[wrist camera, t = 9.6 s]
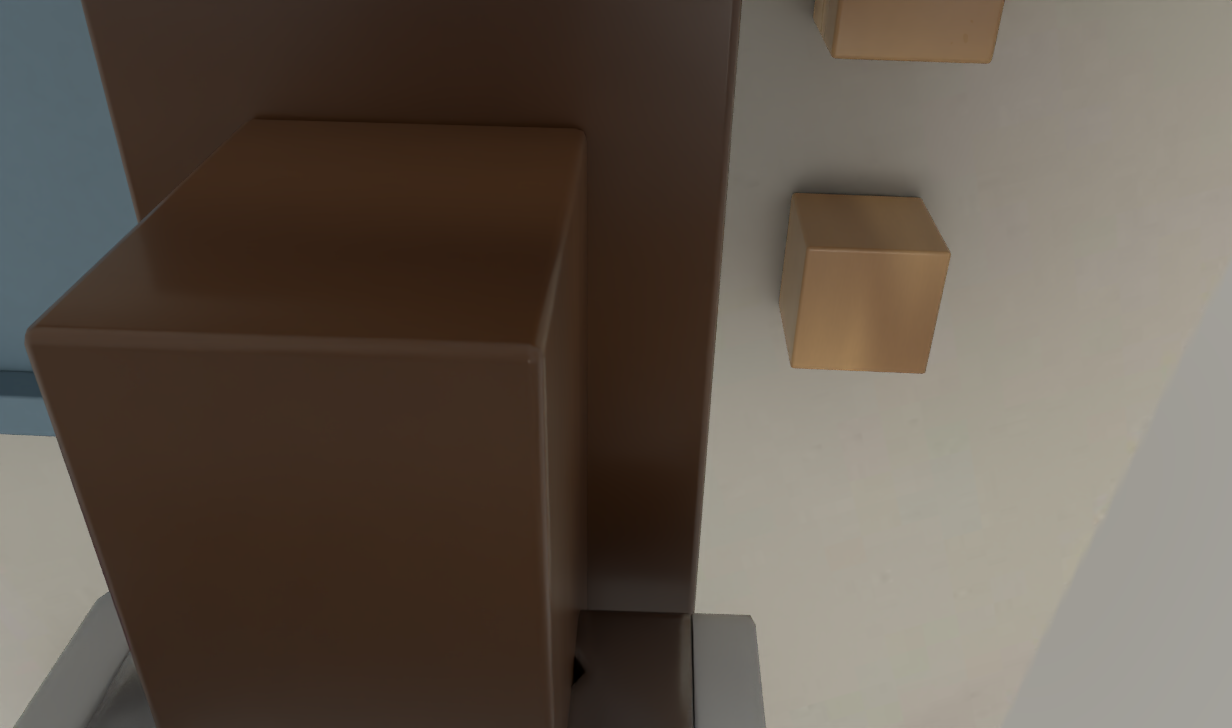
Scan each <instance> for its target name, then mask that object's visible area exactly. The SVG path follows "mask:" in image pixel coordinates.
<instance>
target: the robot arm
mask: <svg viewBox="0 0 1232 728" xmlns="http://www.w3.org/2000/svg"><path fill="white" fill-rule="evenodd" d="M13 728H156V725H155V722H154V719H153V716H152V713H151V710H150V708H149V705H148V702H147V699H146V696H145V693H144V690H143V687H142V684H141V681H140V679H139V676H138V673H137V670H136V667H135V664H134V661H133V658H132V655H131V652H130V650H129V647H128V644H127V641H126V638H125V635H124V632H123V629H122V626H121V624H120V621H119V618H118V615H117V612H116V609H115V606H114V603H113V600H112V597H111V595H110V592H108V593H106V594H105V595H103V596H102V597H100V598H99V599H98V600H97V601H96V602H95V603H94V605H93V606H92V608H91V609H90V611H89V612H88V614H87V616H86V617H85V619H84V620H83V622H82V623H81V625H80V626H79V628H78V629H77V631H76V632H75V634H74V635H73V637H72V638H71V640H70V642H69V643H68V645H67V646H66V648H65V649H64V651H63V652H62V654H61V655H60V657H59V658H58V660H57V661H56V663H55V664H54V666H53V667H52V669H51V671H50V672H49V674H48V675H47V677H46V678H45V680H44V681H43V683H42V684H41V686H40V687H39V689H38V690H37V692H36V693H35V695H34V697H33V698H32V700H31V701H30V703H29V704H28V706H27V707H26V709H25V710H24V712H23V713H22V715H21V716H20V718H19V719H18V721H17V722H16V724H15V726H14V727H13ZM567 728H766V726H765V716H764V706H763V696H762V686H761V676H760V666H759V656H758V646H757V636H756V626H755V623H754V621H753V620H752V618H751V616H750V615H731V614H702V613H692V615H691V617H690V614H689V613H677V612H645V611H613V610H582V609H581V610H580V614H579V617H578V626H577V636H576V646H575V684H574V685H573V686H572V687H571V696H570V706H569V716H568V726H567Z"/></svg>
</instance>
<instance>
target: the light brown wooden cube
mask: <svg viewBox="0 0 1232 728" xmlns="http://www.w3.org/2000/svg"><path fill="white" fill-rule="evenodd" d="M1004 2H1005V0H815V6H814V14H813V19H814V22H815V24H816V26H817V28H818V30H819V32H820V34H821V36H822V38H823V40H824V42H825V44H826V46H827V48H828V50H829V52H830V54H831V56H832V57H833V58H835V59H864V60H892V61H921V62H949V63H977V64H987V63H990V62H991V60H992V57H993V53H994V48H995V44H996V39H997V34H998V30H999V25H1000V20H1001V16H1002V11H1003V7H1004Z"/></svg>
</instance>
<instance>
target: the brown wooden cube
mask: <svg viewBox="0 0 1232 728" xmlns="http://www.w3.org/2000/svg"><path fill="white" fill-rule="evenodd" d="M950 256H951V253H950V251H949V249H948V247H947V245H946V243H945V241H944V240H943V238H942V236H941V234H940V232H939V230H938V228H937V227H936V225H935V223H934V221H933V219H932V217H931V215H930V214H929V212H928V210H927V208H926V206H925V204H924V202H923V201H922V199H921V198H917V197H891V196H864V195H838V194H812V193H793V195H792V199H791V207H790V215H789V224H788V232H787V240H786V248H785V256H784V265H783V273H782V281H781V289H780V297H779V308H780V313H781V318H782V323H783V329H784V334H785V339H786V344H787V349H788V355H789V360H790V365H791V367H792V368H803V369H827V370H850V371H874V372H897V373H920V374H922V373H925V371H926V367H927V362H928V357H929V353H930V348H931V344H932V339H933V334H934V330H935V325H936V321H937V316H938V311H939V307H940V302H941V298H942V293H943V288H944V284H945V279H946V275H947V270H948V266H949V261H950Z"/></svg>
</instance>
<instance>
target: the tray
mask: <svg viewBox="0 0 1232 728" xmlns="http://www.w3.org/2000/svg"><path fill="white" fill-rule="evenodd" d="M137 224H138V222H137V218H136V214H135V210H134V206H133V202H132V198H131V195H130V191H129V187H128V183H127V179H126V175H125V171H124V167H123V163H122V159H121V156H120V152H119V148H118V144H117V140H116V136H115V132H114V128H113V124H112V120H111V117H110V113H109V109H108V105H107V101H106V97H105V93H104V89H103V85H102V82H101V78H100V74H99V70H98V66H97V62H96V58H95V54H94V50H93V46H92V43H91V39H90V35H89V31H88V27H87V23H86V19H85V15H84V11H83V7H82V4H81V0H0V434H12V435H34V436H56V435H55V432H54V429H53V427H52V424H51V421H50V418H49V415H48V412H47V409H46V406H45V403H44V401H43V398H42V395H41V392H40V389H39V386H38V383H37V380H36V377H35V374H34V372H33V369H32V366H31V363H30V360H29V357H28V354H27V351H26V348H25V345H24V343H25V334H26V331H27V328H28V327H29V326H30V325H31V324H33V323H34V322H35V321H36V320H37V319H38V318H39V317H40V316H41V315H42V314H43V313H44V312H45V311H46V310H47V309H48V308H49V307H50V306H52V305H53V304H54V303H55V302H56V301H57V300H58V299H59V298H60V297H61V296H62V295H63V294H64V293H65V292H66V291H67V290H68V289H69V288H71V287H72V286H73V285H74V284H75V283H76V282H77V281H78V280H79V279H80V278H81V277H82V276H83V275H84V274H85V273H86V272H87V271H89V270H90V269H91V268H92V267H93V266H94V265H95V264H96V263H97V262H98V261H99V260H100V259H101V258H102V257H103V256H104V255H105V254H106V253H108V252H109V251H110V250H111V249H112V248H113V247H114V246H115V245H116V244H117V243H118V242H119V241H120V240H121V239H122V238H123V237H124V236H125V235H127V234H128V233H129V232H130V231H131V230H132V229H133V228H134V227H135V226H136V225H137Z"/></svg>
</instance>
